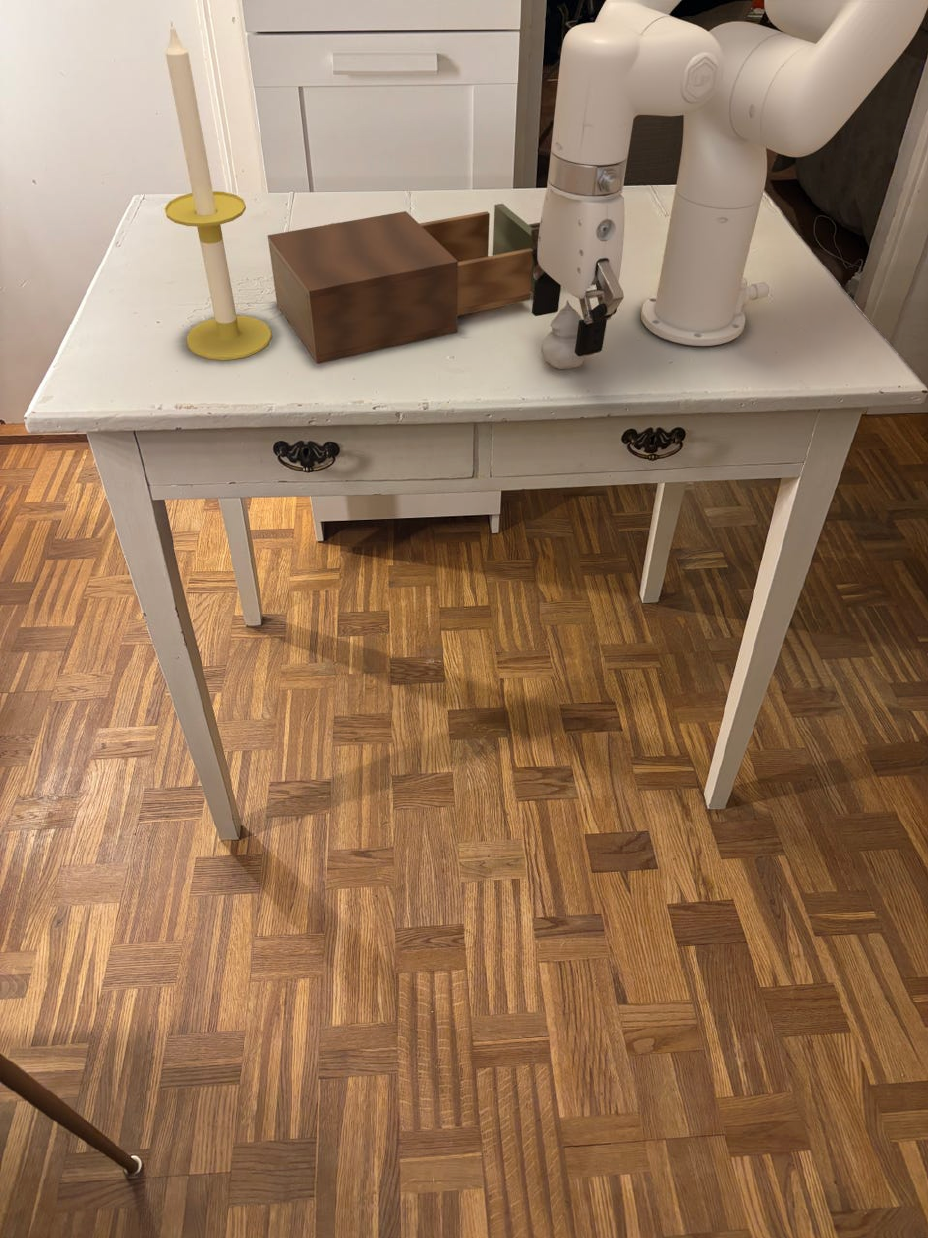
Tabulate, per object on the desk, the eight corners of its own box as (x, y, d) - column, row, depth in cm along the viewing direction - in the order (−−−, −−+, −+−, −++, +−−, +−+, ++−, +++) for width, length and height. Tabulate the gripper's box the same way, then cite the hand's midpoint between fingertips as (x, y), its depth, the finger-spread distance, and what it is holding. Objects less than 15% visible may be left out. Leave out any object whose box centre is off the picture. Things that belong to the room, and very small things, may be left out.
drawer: (537, 248, 126) (541, 196, 121) (591, 292, 117) (597, 238, 112) (385, 278, 119) (382, 224, 114) (429, 328, 110) (429, 272, 105)
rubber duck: (534, 354, 108) (539, 289, 102) (588, 349, 109) (597, 285, 103) (546, 379, 105) (552, 313, 99) (602, 374, 106) (611, 308, 100)
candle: (175, 329, 111) (103, 14, 88) (254, 310, 115) (205, 2, 91) (202, 368, 105) (132, 40, 82) (284, 346, 109) (240, 27, 85)
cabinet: (408, 278, 121) (406, 210, 115) (457, 332, 112) (458, 261, 105) (276, 304, 116) (267, 234, 109) (317, 363, 106) (309, 290, 100)
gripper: (667, 199, 87) (636, 363, 99) (575, 140, 98) (556, 294, 110) (599, 209, 85) (575, 376, 97) (512, 147, 96) (500, 304, 108)
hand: (565, 332), depth 103 cm, fingers open, 9 cm apart
